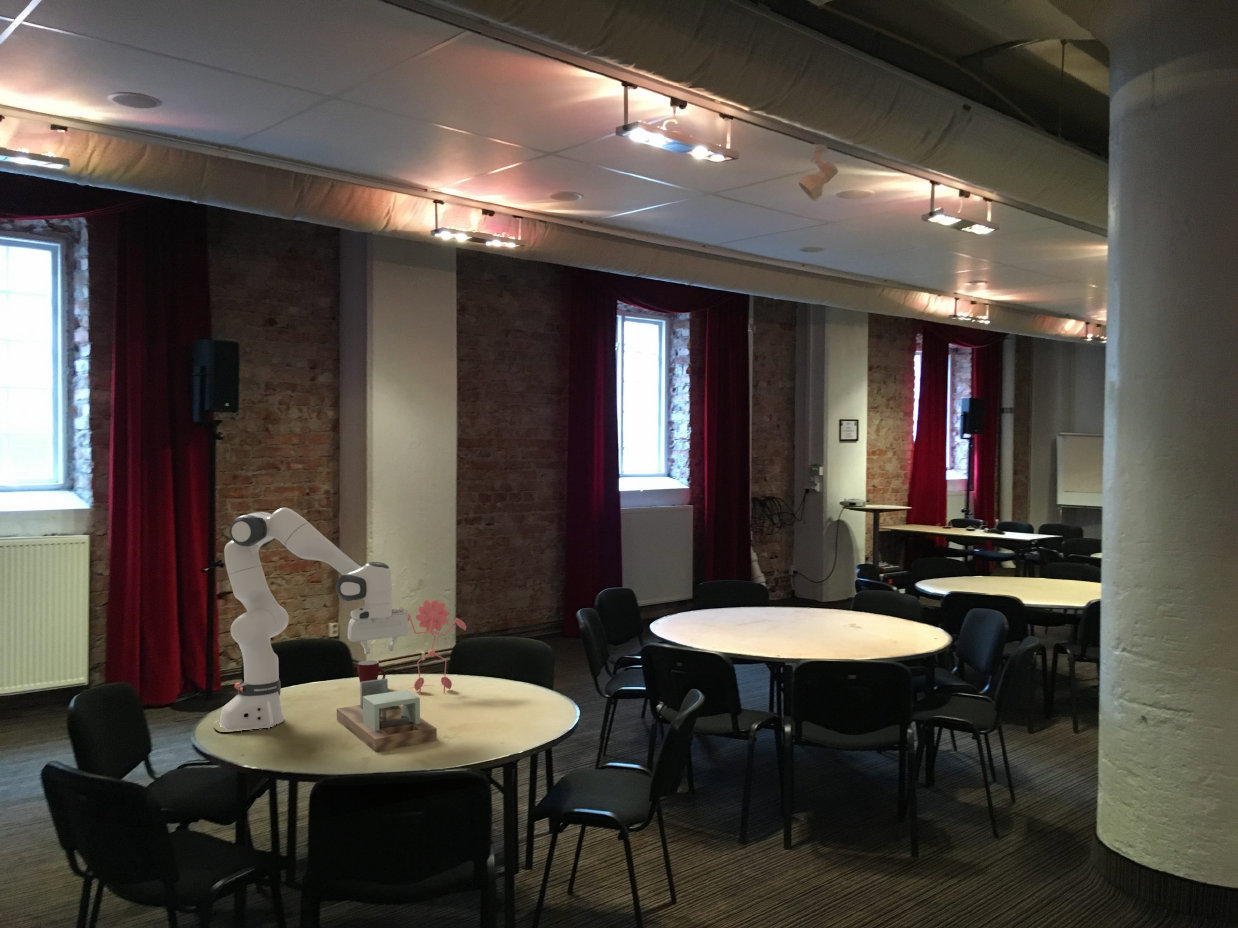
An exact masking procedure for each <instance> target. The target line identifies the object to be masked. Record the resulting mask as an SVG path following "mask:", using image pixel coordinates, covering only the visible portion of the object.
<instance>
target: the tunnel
mask: <svg viewBox="0 0 1238 928" xmlns="http://www.w3.org/2000/svg"><path fill="white" fill-rule="evenodd" d="M398 705H402V706H403V714H404V715H406V716H407V717H409V719H410V721H411V722H413V723H414V724H420V718H421V697H419V696H418V695H416V694H414V693H413V692H411V691H410V690H409V689H403V690H394V691H389V692H388V693H381V694H374V695H368V696H363V723H365V724H366V725H367V726H369V727H370V728H371V729H372V730H374V731H379V708H386V707H392V706H398Z"/></svg>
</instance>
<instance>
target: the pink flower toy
mask: <svg viewBox="0 0 1238 928" xmlns="http://www.w3.org/2000/svg"><path fill="white" fill-rule="evenodd" d="M445 608H446V603H445V602H443V601H442V602H439V600H438V599H433V600H432V601H431V602H430V601H429V600H428V599H424V601H423V604H422V605H419V606H418V608H417V611H418V612H419V613H417V614H416V615H415V616H414V617H415V619H416V620H417V621H419V624H418V626H419V627H420V628H425V629H426V630H425V631H418V632H416V629H415V627H414V623H413V621H412V618H411V614H410V613H408V622H409V621H410V624H411V627H412V630H413V633H414V634H415V635H419V634H426V633H429V634H431V635H432V636H433V641H432V645H431V649H430V650H428V653H427V654H426V655H425V656H423V657H422V658H420V659H419V660H418V661H417V662H416V663H417V664H416V665H417V670H418V678H417V679H416V680H415V682H414V684H413V687H412V689H414V690H415V691H416V692H419V693H418V694H419V695H420V694H422V693H421V692H422V687H423V686H424V687H427V686H429V687H430V684H427V685H424V684H425V680H424V679H425V678H424V677H421V673H420V664H419V663H420V662H421V661H422V660H424V659H425V658H426V657H430V658H433V657H435V656H437V657H438V658H441V659H442V660H443V661H445V663H444V664H445V665H444V676H442V677H441V678H440V682H441V686H443V694H444V693H445V694H446V689H449V690H451V688H452V686H453V683H452V681H451V679H450V678H449V677H448V676H446V674H447V673H446V672H447V659H445V658H444V657H442V656H440V655H438V654H436V651H435V650H434V649H433V648H434V644H435V641H436V634H437V635H439V636H443V637H446V635H447V634H448V632H450V630H451V629H452V627H453V626H454V625H455V623H456V625H457V626H458V627H459V628H461V629H462V630H464V631H466V629H467V625H466V623H465V622H464V621H463V620H462V619H460V618H458V617H456V618H455V620H454V621H453V622H452V623H451V625H450V626H449V628H448V629H447V631H446V632H445V633H441V632H439V631H441V630H442V629H443V625H448V624H449V620H448V617H447V616H449V615H450V612H449V610H447V609H445ZM434 629H435V630H436V631H434ZM437 631H438V632H437ZM409 689H411V687H409V688H408V690H409Z"/></svg>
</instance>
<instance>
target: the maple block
mask: <svg viewBox="0 0 1238 928" xmlns="http://www.w3.org/2000/svg"><path fill="white" fill-rule="evenodd" d="M381 719H382V720H383V721H390V720H396V719H401V708H400V707H399V706H392V707H386V708H381Z"/></svg>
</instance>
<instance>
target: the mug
mask: <svg viewBox="0 0 1238 928" xmlns="http://www.w3.org/2000/svg"><path fill="white" fill-rule="evenodd" d="M379 673H382V678H381V679H385V678H386V674H387V673H386V672H385V670H384V669H382V668H380V662H379V661H378V660H371V659H370V660H369V659H368V660H362V661H359V662H357V675H358V679H359V683H360V682H363V681H371V680H378V678H379Z"/></svg>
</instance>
